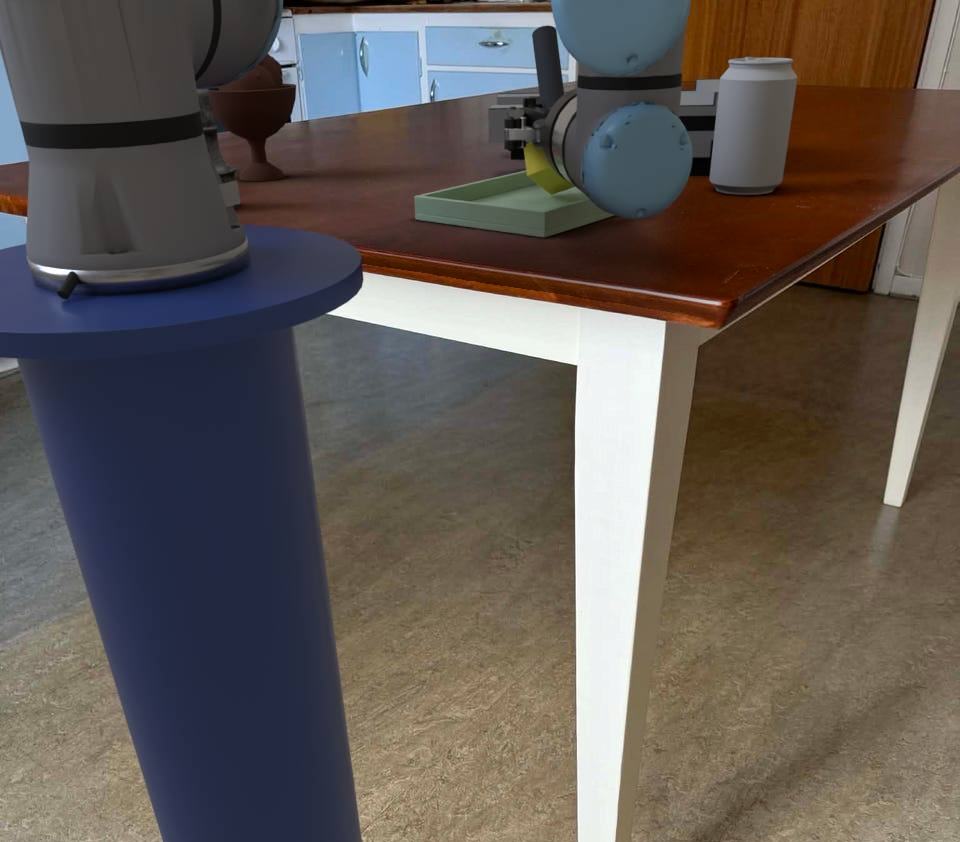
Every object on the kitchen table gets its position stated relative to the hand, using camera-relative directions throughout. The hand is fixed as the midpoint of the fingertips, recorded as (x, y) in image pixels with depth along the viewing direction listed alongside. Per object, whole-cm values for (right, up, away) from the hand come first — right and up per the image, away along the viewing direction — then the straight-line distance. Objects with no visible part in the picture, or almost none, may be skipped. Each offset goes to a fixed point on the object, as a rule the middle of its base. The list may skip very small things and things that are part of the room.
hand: (541, 112), depth 98 cm
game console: (+11, +4, +19) cm, 23 cm away
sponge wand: (+2, -9, -5) cm, 11 cm away
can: (+22, -7, +2) cm, 23 cm away
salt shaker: (-34, -10, 0) cm, 36 cm away
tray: (0, -12, -5) cm, 13 cm away
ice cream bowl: (-33, +1, +16) cm, 37 cm away
